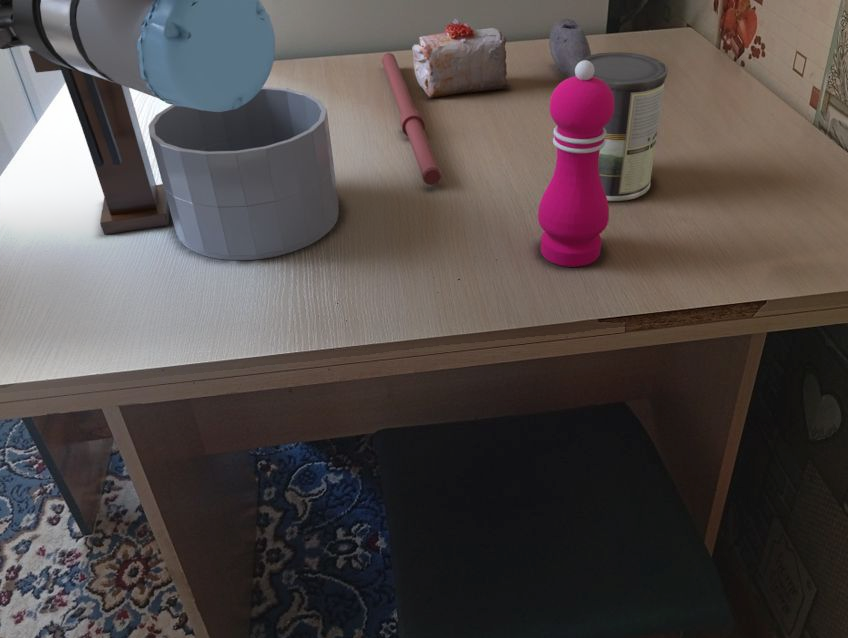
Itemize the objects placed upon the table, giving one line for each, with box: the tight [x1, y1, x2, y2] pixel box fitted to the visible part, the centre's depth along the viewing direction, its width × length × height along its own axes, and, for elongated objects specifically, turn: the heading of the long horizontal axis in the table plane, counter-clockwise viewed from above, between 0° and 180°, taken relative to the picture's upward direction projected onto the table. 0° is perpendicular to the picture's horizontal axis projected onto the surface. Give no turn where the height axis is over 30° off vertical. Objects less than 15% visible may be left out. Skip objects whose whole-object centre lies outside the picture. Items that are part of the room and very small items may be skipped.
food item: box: [411, 18, 508, 98], centre depth 120 cm, size 14×8×10 cm, turn 106°
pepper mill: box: [537, 60, 614, 268], centre depth 77 cm, size 7×7×20 cm
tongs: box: [59, 65, 122, 167], centre depth 76 cm, size 16×3×3 cm
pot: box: [148, 86, 340, 261], centre depth 86 cm, size 18×18×12 cm
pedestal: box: [28, 47, 170, 235], centre depth 84 cm, size 12×8×21 cm, turn 16°
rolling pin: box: [381, 52, 442, 186], centre depth 112 cm, size 45×3×3 cm, turn 11°
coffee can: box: [574, 51, 669, 202], centre depth 92 cm, size 10×10×14 cm
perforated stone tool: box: [548, 18, 592, 79], centre depth 125 cm, size 15×5×7 cm, turn 6°
